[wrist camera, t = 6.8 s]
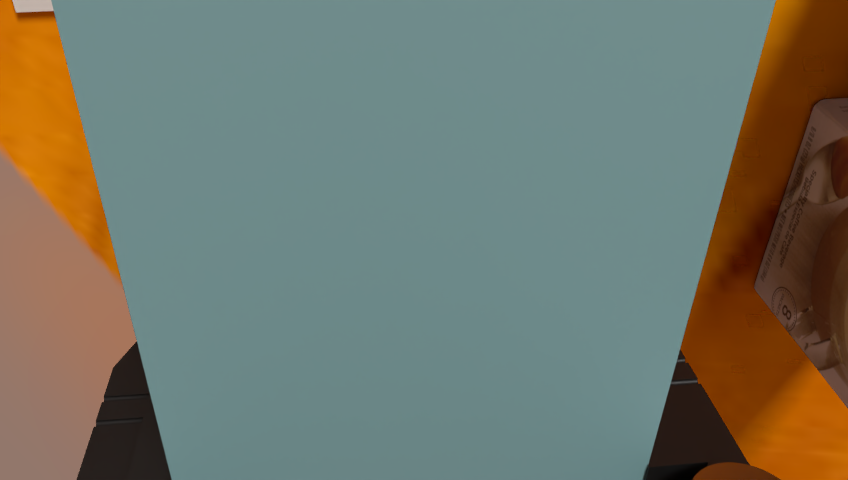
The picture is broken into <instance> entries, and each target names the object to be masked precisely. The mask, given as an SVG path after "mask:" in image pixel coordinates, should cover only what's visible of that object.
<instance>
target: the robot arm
mask: <svg viewBox="0 0 848 480" xmlns="http://www.w3.org/2000/svg"><path fill="white" fill-rule="evenodd" d="M697 379H698V378H697V377H696V375H695V373H694V372H693V370H692V368H691V367H690V365H689V363H686V362H685V357H684V355H683V353H682V352H681V350H680V351H679V355H678V358H677V362H676V366H675V369H674V373H673V376H672V380H671V384H670V387H669V391H668V395H667V398H666V402H665V406H664V409H663V413H662V417H661V420H660V424H659V427H658V431H657V435H656V438H655V442H654V446H653V449H652V453H651V457H650V460H649V464H648V466H647V469H646V473H645V477H644V480H780V479H779V478H777V477H776V476H774V475H772V474H770V473H768V472H766V471H765V470H762V469H759V468H757V467H754V466H751V465H749V463H748V462H747V460H746V458H745V457H744V455H743V453H742V452H741V450H740V448H739V447H738V445H737V443H736V442H735V440H734V438H733V437H732V435H731V433H730V432H729V430H728V428H727V427H726V425H725V423H724V422H723V420H722V418H721V417H720V415H719V413H718V412H717V410H716V408H715V407H714V405H713V403H712V402H711V400H710V398H709V397H708V395H707V393H706V392H705V390H704V388H703V387H702V385H701V384H698V382H697ZM77 480H172V479H171V475H170V471H169V467H168V463H167V459H166V455H165V451H164V447H163V443H162V439H161V435H160V431H159V427H158V423H157V419H156V415H155V411H154V407H153V403H152V399H151V395H150V391H149V387H148V384H147V380H146V376H145V372H144V368H143V364H142V360H141V356H140V352H139V348H138V344H137V342H136V343H135V344H134V345H133V346H132V347H131V348H130V350H129V351H128V352H127V353H126V354H125V355H124V356H123V357H122V359H121V360H120V361H119V362H118V363H117V364H116V365H115V366H114V368H113V370H112V373H111V376H110V380H109V383H108V386H107V389H106V392H105V395H104V402H102V404H101V407H100V410H99V413H98V416H97V419H96V427H94V428H93V431H92V434H91V438H90V440H89V443H88V447H87V450H86V453H85V456H84V459H83V462H82V465H81V468H80V471H79V474H78V477H77Z"/></svg>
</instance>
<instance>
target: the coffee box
mask: <svg viewBox="0 0 848 480" xmlns="http://www.w3.org/2000/svg"><path fill="white" fill-rule="evenodd" d="M754 288H755V290H756V292H757V293H758V294H759V295H760V297H761V298H762V299H763V301H764V302H765V303H766V304H767V306H768V307H769V308H770V310H771V311H772V312H773V313H774V315H775V316H776V317H777V318H778V320H779V321H780V322H781V324H782V325H783V326H784V327H785V329H786V330H787V331H788V333H789V334H790V335H791V336H792V337H793V339H794V340H795V341H796V343H797V344H798V345H799V346H800V348H801V349H802V350H803V351H804V353H805V354H806V355H807V357H808V358H809V359H810V360H811V362H812V363H813V364H814V366H815V367H816V368H817V369H818V371H819V372H820V373H821V375H822V376H823V377H824V378H825V380H826V381H827V382H828V384H829V385H830V386H831V387H832V389H833V390H834V391H835V392H836V394H837V395H838V396H839V398H840V399H841V400H842V401H843V403H844V404H845V405H846V407H847V408H848V98H836V99H824V100H821V101H819V102H818V103H817V104H816V105H815V106H814V107H813V110H812V113H811V116H810V119H809V122H808V125H807V128H806V131H805V134H804V137H803V140H802V143H801V146H800V149H799V152H798V155H797V158H796V161H795V164H794V167H793V170H792V173H791V176H790V179H789V182H788V185H787V188H786V191H785V194H784V197H783V200H782V203H781V206H780V209H779V212H778V215H777V218H776V221H775V224H774V227H773V230H772V233H771V236H770V239H769V242H768V245H767V248H766V251H765V254H764V257H763V260H762V263H761V266H760V269H759V272H758V276H757V279H756V282H755V286H754Z"/></svg>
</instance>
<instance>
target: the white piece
mask: <svg viewBox="0 0 848 480" xmlns="http://www.w3.org/2000/svg"><path fill="white" fill-rule="evenodd" d="M12 1H13V4H14V7H15V11H16V12H40V11H54V10H53V6H52V2H51V0H12Z"/></svg>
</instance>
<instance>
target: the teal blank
mask: <svg viewBox="0 0 848 480" xmlns="http://www.w3.org/2000/svg"><path fill="white" fill-rule="evenodd" d="M775 1H776V0H51V2H52V6H53V10H54V14H55V18H56V22H57V26H58V29H59V33H60V37H61V41H62V45H63V49H64V53H65V57H66V61H67V65H68V69H69V73H70V77H71V81H72V85H73V89H74V93H75V97H76V101H77V105H78V109H79V113H80V117H81V121H82V125H83V129H84V133H85V137H86V141H87V145H88V149H89V153H90V157H91V161H92V165H93V169H94V173H95V177H96V181H97V185H98V189H99V193H100V197H101V201H102V205H103V208H104V212H105V216H106V220H107V224H108V228H109V232H110V236H111V240H112V244H113V248H114V252H115V256H116V260H117V264H118V268H119V272H120V276H121V280H122V284H123V288H124V292H125V296H126V300H127V304H128V308H129V312H130V316H131V320H132V324H133V328H134V332H135V336H136V340H137V344H138V348H139V352H140V356H141V360H142V364H143V368H144V372H145V376H146V380H147V384H148V387H149V391H150V395H151V399H152V403H153V407H154V411H155V415H156V419H157V423H158V427H159V431H160V435H161V439H162V443H163V447H164V451H165V455H166V459H167V463H168V467H169V471H170V475H171V479H172V480H644V477H645V473H646V469H647V466H648V464H649V460H650V457H651V453H652V449H653V446H654V442H655V438H656V435H657V431H658V427H659V424H660V420H661V417H662V413H663V409H664V406H665V402H666V398H667V395H668V391H669V387H670V384H671V380H672V376H673V373H674V369H675V366H676V362H677V358H678V355H679V351H680V347H681V344H682V340H683V336H684V333H685V329H686V325H687V322H688V318H689V315H690V311H691V307H692V304H693V300H694V296H695V293H696V289H697V285H698V282H699V278H700V275H701V271H702V267H703V264H704V260H705V256H706V253H707V249H708V245H709V242H710V238H711V234H712V231H713V227H714V224H715V220H716V216H717V213H718V209H719V205H720V202H721V198H722V194H723V191H724V187H725V183H726V180H727V176H728V173H729V169H730V165H731V162H732V158H733V154H734V151H735V147H736V143H737V140H738V136H739V132H740V129H741V125H742V122H743V118H744V114H745V111H746V107H747V103H748V100H749V96H750V92H751V89H752V85H753V81H754V78H755V74H756V71H757V67H758V63H759V60H760V56H761V52H762V49H763V45H764V41H765V38H766V34H767V31H768V27H769V23H770V20H771V16H772V12H773V9H774V5H775Z"/></svg>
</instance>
